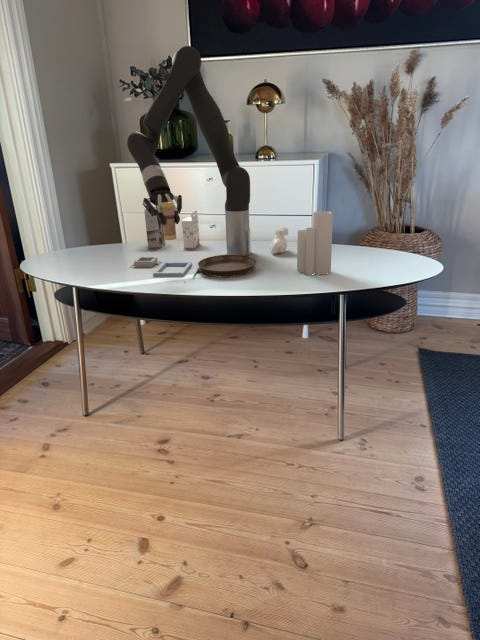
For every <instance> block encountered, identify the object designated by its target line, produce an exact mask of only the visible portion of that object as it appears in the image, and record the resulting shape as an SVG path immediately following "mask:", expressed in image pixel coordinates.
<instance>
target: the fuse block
mask: <svg viewBox="0 0 480 640" xmlns="http://www.w3.org/2000/svg"><path fill="white" fill-rule="evenodd" d="M158 260H159V259H158V256H139V257H138V258H136V259H135V260H134V261H133V264H132V265H131V266H130V267H129V268H131V269H135V268H136V269H137V268H141V269H142V268H151V269H152V268H156V269H158V268H159V267H160V266H161V265H162V264H163V261H158Z"/></svg>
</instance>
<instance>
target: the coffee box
mask: <svg viewBox="0 0 480 640" xmlns="http://www.w3.org/2000/svg"><path fill="white" fill-rule="evenodd" d="M153 207H154V208H155V209H156V206H153ZM143 212H144V219H145V231H146V240H147V248H149V249H150V248H163V246H164V245H165V244H166V240H164V229H163V225H162V224H161V223H160V221H159V219H158V217H157V216H155V215H154V216H152V215H151V214H150V213H149V212H148V211H147V209H146V208H145V209H144V211H143Z"/></svg>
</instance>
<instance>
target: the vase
mask: <svg viewBox="0 0 480 640" xmlns="http://www.w3.org/2000/svg"><path fill="white" fill-rule="evenodd" d="M333 219H334V213H333V211H328V210H319V211H313V212H312V227H307V228H306V229H299V230H297V241H296V242H297V248H296V249H297V251H296V252H297V255H296V256H297V257H296V259H297V260H296V272H297V271H298V272H297V273H299V272H302V273H301V274H305V275H306V274H307V275H306V276H313V275H312V274H314V273H315V274H314V275H316V274H327V273H330V272H332V248H333V221H334V220H333ZM330 274H331V273H330ZM327 275H328V274H327Z"/></svg>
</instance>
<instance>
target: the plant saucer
mask: <svg viewBox="0 0 480 640" xmlns="http://www.w3.org/2000/svg"><path fill="white" fill-rule="evenodd" d="M257 262H258V261H257V259H255V258H254V257H252V256H250V255H228V254H219V255H213V256H209V257H205V258H203V259H201V260H200V261H198V262H197V266H198V267H199V269H200V270H201V271H202V272H203V273H204V274H206V275H207V276H211V277H219V278H220V277H222V278H223V277H224V278H227V277H230V276H231V277H237V276H238V275H239V276H243V275H246V274H248V273H249V272H251V271H252V270H253V269H254V268H255V266H256V265H257ZM231 277H230V278H231Z"/></svg>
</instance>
